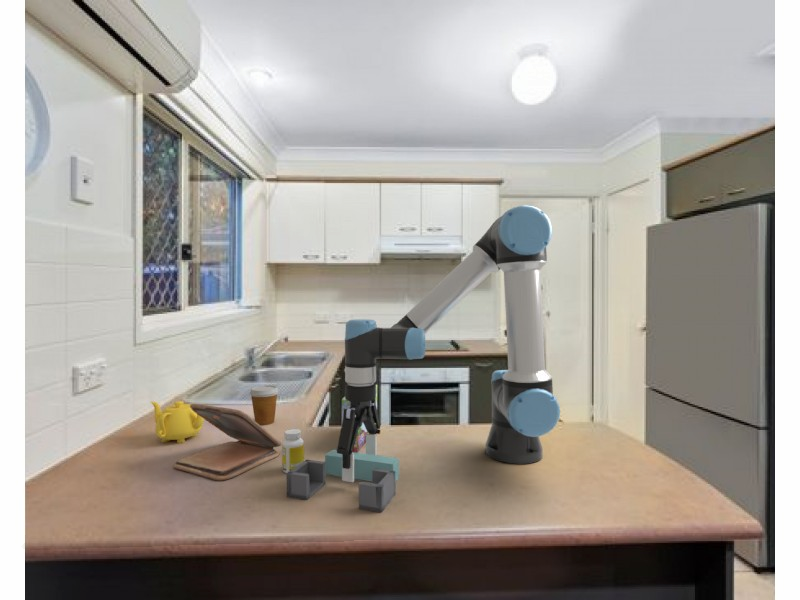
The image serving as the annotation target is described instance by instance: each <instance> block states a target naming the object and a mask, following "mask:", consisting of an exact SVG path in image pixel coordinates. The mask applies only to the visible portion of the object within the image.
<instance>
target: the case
mask: <svg viewBox="0 0 800 600" xmlns="http://www.w3.org/2000/svg"><path fill="white" fill-rule="evenodd" d="M190 404H191V405H190V408H191V409H192V410H193V411H194V412H195V413H197V414H198V415H199V416H201V417H202V418H204V421H206V422H208V423H209V424H211V425H212V426H213V427H215V428H217V429H218V430H219V431H221V432H223V433H224V434H225V435H226V436H228V437H230V438H232V439H235V440H237V441H227V442H223V443H220V444H218V445H215V446H212V447H210V448H208V449H204V450H202V451H198V452H197V453H194V454H191V455H188V456H185V457H183V458H180V459H179V458H178V460H177V461H175V462H174V463H173V465H172V466H173V467H172V468H174V469H175V470H179V471H182V472H186V473H190V474H194V475H197V476H200V477H204V478H206V479H211V480H213V481H227V480H231V479H232V478H235V477H237V476H239V475H241V474H244V473H245V472H247V471H251V470H252V469H254V468H256V467H258V466H261V465H263V464H265V463H267V462H269V461H271V460H273V459H275V458H278V457H279V455H280V452H279V451H278V450H276V449H274V448H276V447H277V448H278V447H282V442H281V441H280V440H278V438H277V437H275V436H274V435H272V434H271V433H270V432H269V431H267V430H266V429H265V428H264V427H263V426H262V425H259V424H258V423H257V422H255V419H253V418H252V417H251V416H249V415H248V414H247V413H245V412H244V411H242V410H240V409H236V408H229V407H222V406H221V407H220V406H213V405H208V404H200V403H199V404H198V403H190Z"/></svg>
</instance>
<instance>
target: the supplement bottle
mask: <svg viewBox="0 0 800 600" xmlns="http://www.w3.org/2000/svg"><path fill="white" fill-rule="evenodd" d="M301 437H302V431H301V429H297V428H294V429H293V428H292V429H288V430H285V431H284V440H283V441H282V442H281V462H282V463H281V464H282V465H281V466H282V467H281V469H282V472H283V473H285V474H286V473H288V472H289V471H291V470H292V469H293V468H295V467H296V466H298V465H299V464H301V463H302V462H304V461H305V444H304V443H305V441H304V439H303V438H301Z"/></svg>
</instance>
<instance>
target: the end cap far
mask: <svg viewBox="0 0 800 600" xmlns="http://www.w3.org/2000/svg"><path fill="white" fill-rule="evenodd" d="M285 474H286V476H285V477H286V497H287V498H290V499H291V498H293V499H298V500H304V501H308V500H309V499H310V498H311V497H312V496H314V494H315V493H317V492H319V490H320V489H322V488H323V487H324V486H325V485H326V483H327V482H326V479H327V477H326V474H325V461H321V460H313V459H304V462H302V463H301V464H299V465H298V466H296V467H295V468H293V469H292V470H291V471H289V472H288V473H285Z"/></svg>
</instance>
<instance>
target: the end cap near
mask: <svg viewBox="0 0 800 600" xmlns="http://www.w3.org/2000/svg"><path fill="white" fill-rule="evenodd" d="M395 496H396V482H395V471H390V470H383V469H375V468H374V469H373V470H372V481H371V482H366V481H360V482H359V484H358V509H359V510H362V511H363V510H364V511H369V512H370V511H371V512H376V513H383V511H385V509H386V508H387V506H388V505H389V504H390V503H391V501H392V499H394V497H395Z"/></svg>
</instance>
